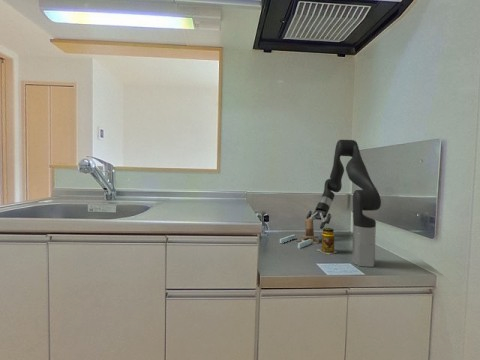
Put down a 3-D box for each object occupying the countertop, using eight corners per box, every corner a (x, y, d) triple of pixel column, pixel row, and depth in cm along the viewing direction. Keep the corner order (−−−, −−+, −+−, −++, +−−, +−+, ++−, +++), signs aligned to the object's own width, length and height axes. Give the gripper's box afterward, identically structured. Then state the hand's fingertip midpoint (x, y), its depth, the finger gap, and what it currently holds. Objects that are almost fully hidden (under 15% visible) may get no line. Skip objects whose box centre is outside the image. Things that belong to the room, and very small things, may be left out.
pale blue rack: (293, 238, 165) (293, 234, 164) (313, 242, 155) (313, 238, 155) (279, 243, 155) (279, 239, 155) (299, 248, 145) (299, 243, 145)
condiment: (328, 254, 135) (328, 230, 134) (315, 250, 142) (315, 227, 142) (338, 252, 139) (338, 229, 138) (325, 248, 146) (325, 225, 145)
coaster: (320, 244, 153) (320, 243, 153) (301, 243, 154) (301, 242, 154) (318, 239, 163) (318, 238, 162) (301, 238, 164) (301, 237, 164)
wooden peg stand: (319, 238, 153) (318, 218, 156) (303, 238, 154) (302, 218, 157) (316, 238, 162) (315, 219, 165) (301, 238, 163) (300, 219, 165)
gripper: (311, 200, 172) (301, 221, 165) (332, 203, 162) (323, 225, 155) (315, 207, 176) (306, 228, 169) (336, 210, 166) (327, 232, 159)
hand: (314, 227), depth 162 cm, fingers open, 8 cm apart
